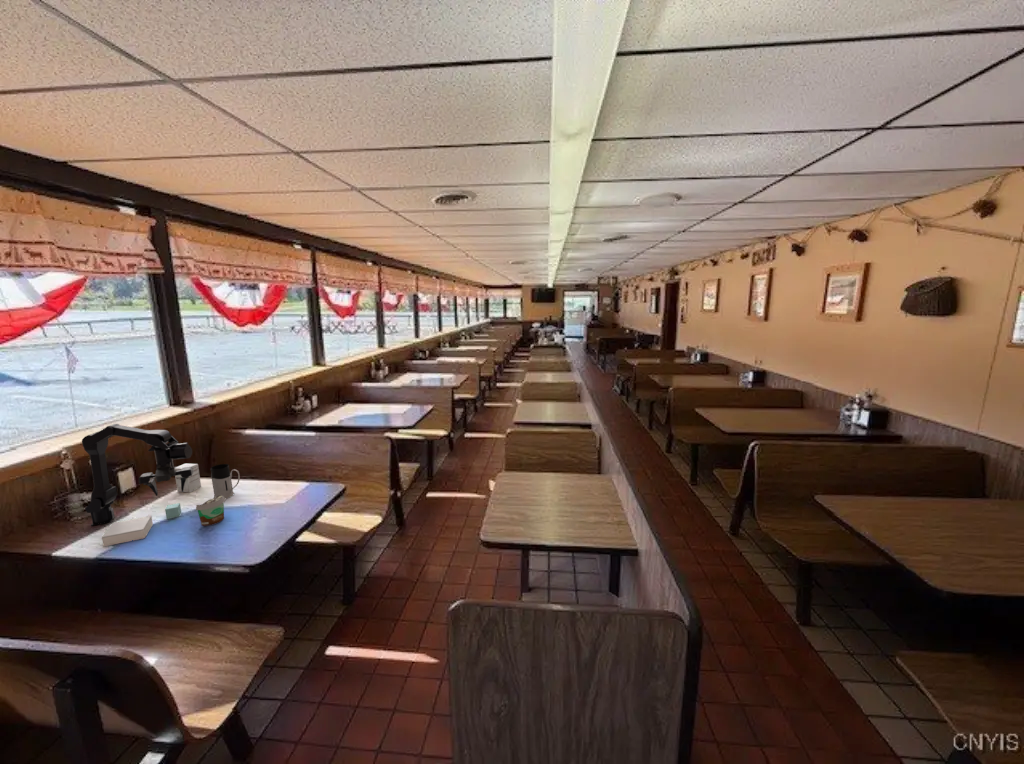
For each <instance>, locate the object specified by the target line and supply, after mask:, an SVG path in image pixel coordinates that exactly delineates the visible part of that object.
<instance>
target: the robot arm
mask: <svg viewBox="0 0 1024 764" xmlns="http://www.w3.org/2000/svg"><path fill="white" fill-rule="evenodd" d="M114 436H115V437H121V438H126V439H133V440H138V441H142V442H143V443H145V444H147V445H149V446H151V447H150V448H149V449H148V450H147V451H148V452H154V456H155V462H156V470H155V474H154V473H153V471H152V472H145V473H142V474H141V475H140V476H139V477H138V483H139V485H142V484H143V486H148V487H149V489H151V491H152V492H153V494H154V495H155V496H156V497H157V496H158V495H159V494H158V493H159V492H158V487H157V483H161V482H164V481H165V482H167V481H170V480H171V478H172V477H175V476H176V475H181V476H182V477H181V478H180V479H181V490H182V491H183V490H184V486H185V482H186V479H187V478H189V476H192V474H193V472H194V470H193V467H184V468H182V469H181V470H180V471H176V470H175V468H176V467H175V465H174V460H182V459H190V458H191V457H192V455H193V448H192V447H191V446H190V445H189V443H188V442H183V443H181V442H180V443H179V441H178V440H177V439H176V438H175V437H174V436H173V435H171V433H170V431H168V430H167V429H150V430H149V429H143V428H137V427H132V426H127V425H122V424H119V423H113V424H110V425H107V426H106V427H105V428H103V429H101V430H99V431H95V432H92V433H90V434H87V435H85V436H84V437H83V438H82V439H81V444H82V448H83V449H84V451H85V452H86V453H87V454H88V455H89V460H90V467H91V472H92V479H93V480H92V481H93V488H92V492H91V493H90V502H89V504H88V505H87V506H86V507H85V511H86V513H88V514H90V515H91V516H90V517H91V521H92V523H91V524H90V526H96V525H97V526H98V525H103V524H107V523H111V522H112V521H113V519H114V518H116V516H115V512H114V507H112V505H113V504H114V501H115V500H116V498H117V496H118V495H119V494H118V491H117V490H118V489H117V486H116V485H115V486H113V485H112V484H111V483H110V477H109V472H108V465H107V456H106V451H107V449H108V446H109V439H110V438H111V437H114Z"/></svg>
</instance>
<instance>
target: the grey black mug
mask: <svg viewBox="0 0 1024 764" xmlns="http://www.w3.org/2000/svg"><path fill="white" fill-rule="evenodd" d="M234 471H235V472H236V473H237V481H236V484H235V485H234V486H233V481H232V477H233V472H234ZM210 473H211V474H210V477H211V478H210V479H211V482H212V483H211V484H212V489H213V498H215V497H217V496H218V494H222V495H223V496H224V498H226V499H228V497H229V498H231V497H230V496H232V495H233V494H234V495H235V492H234V489H235V488H236V487H237V486H238V485H239V483H240V480H241V479H240V478H241V476H240V475H241V474H240V471H239V470H237V469H235V468H234V469H232V470H231V471H230V465H229V464H228V463H222V464H221V463H220V464H216V465H213V466H211V467H210ZM234 495H233V496H234ZM233 496H232V497H233Z"/></svg>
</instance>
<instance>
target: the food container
mask: <svg viewBox="0 0 1024 764" xmlns="http://www.w3.org/2000/svg"><path fill="white" fill-rule="evenodd" d="M225 501H226V499H225V498H224V496H223V495H222V494H218V496H217V497H215V498H214V497H213V498H210V499H208V500H206V501H205V502H204V503H202V504H196V506H195V510H196V511H197V513H198V516H199V521H200V524H201V525H200V526H202V527H207V526H208V527H209V526H214V525H216V524H217V525H218V523H219V524H220V522H222V521H223V520H225V509H224V507H225V505H224V502H225Z"/></svg>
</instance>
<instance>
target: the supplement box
mask: <svg viewBox="0 0 1024 764" xmlns="http://www.w3.org/2000/svg"><path fill="white" fill-rule="evenodd" d="M184 467H193V470H194V472H193V474H192V476H189V478H187V479H186V482H185V486H184V490H183V491H182V490H181V479H180V478H181V477H182V476H181V475H176V476H174V477H175V483H176V490H177V492H179V493H180V492H181V493H182V492H183V493H185V492H186V493H191V492H194V491H196V490H198V489H200V488H202V483H201V476H200V469H199V464H198V463H183V464H181V465H178V466H175V467H174V468H175V470H176V471H180V470H181V469H182V468H184Z"/></svg>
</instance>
